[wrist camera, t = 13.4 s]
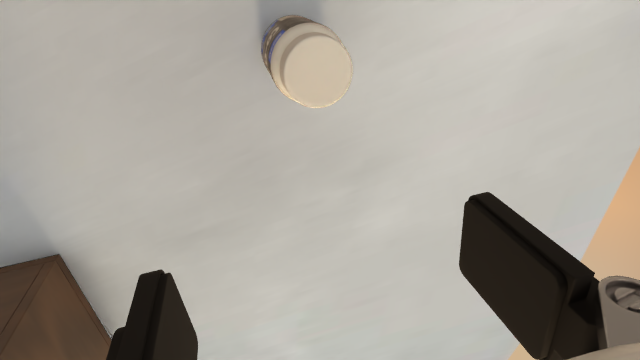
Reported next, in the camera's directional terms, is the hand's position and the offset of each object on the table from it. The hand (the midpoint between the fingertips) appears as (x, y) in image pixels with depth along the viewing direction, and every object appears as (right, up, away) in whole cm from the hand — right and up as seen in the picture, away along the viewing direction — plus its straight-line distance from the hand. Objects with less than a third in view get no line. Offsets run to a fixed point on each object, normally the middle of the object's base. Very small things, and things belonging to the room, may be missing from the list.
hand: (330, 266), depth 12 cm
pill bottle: (-2, +12, +16) cm, 21 cm away
